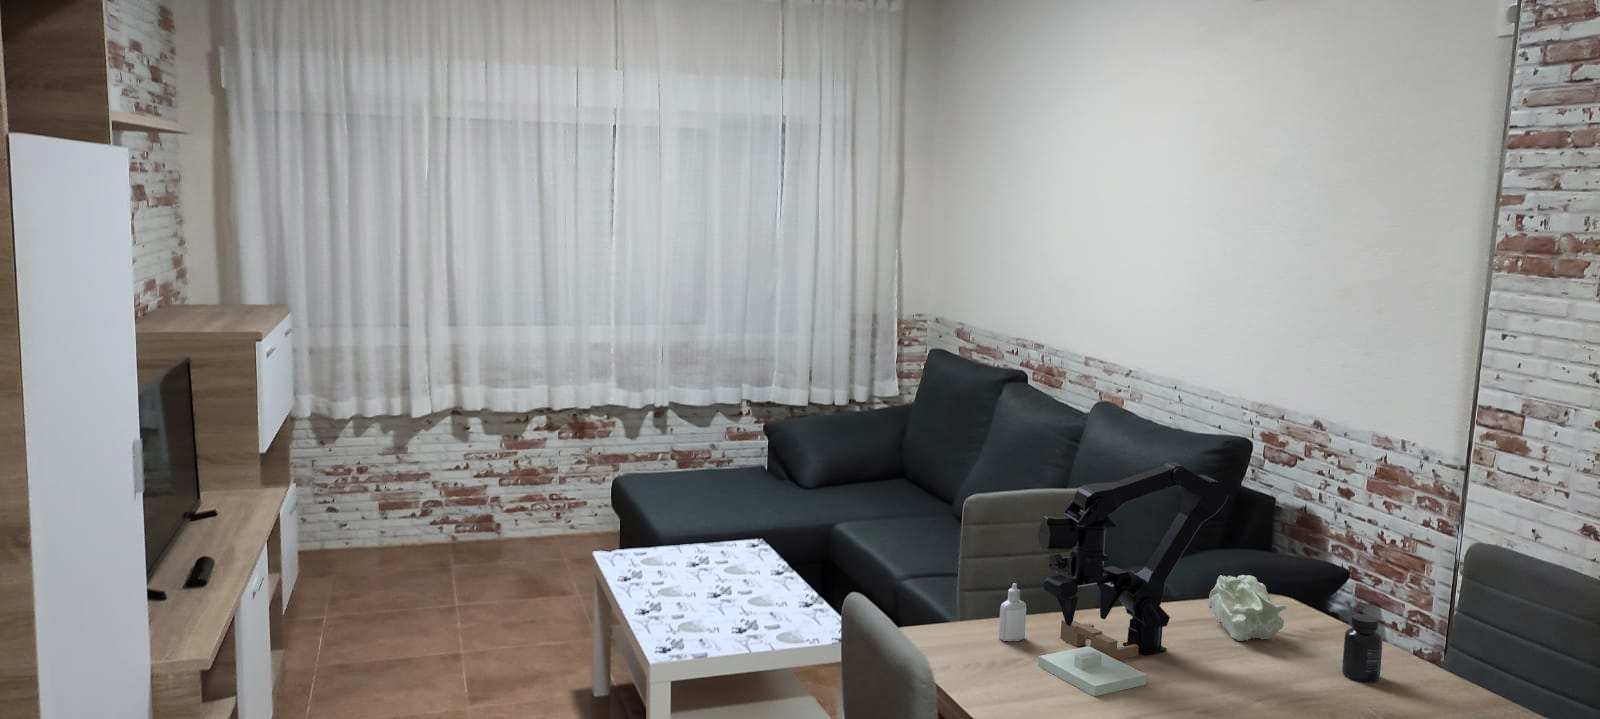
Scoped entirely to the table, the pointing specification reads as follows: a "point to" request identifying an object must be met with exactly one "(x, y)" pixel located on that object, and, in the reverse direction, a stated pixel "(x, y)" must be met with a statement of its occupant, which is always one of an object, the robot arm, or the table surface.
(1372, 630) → the supplement bottle
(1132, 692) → the table surface
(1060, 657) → the stand
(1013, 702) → the table surface
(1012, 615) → the eye dropper bottle
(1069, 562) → the robot arm
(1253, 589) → the folded clay sculpture
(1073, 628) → the brown c-shaped bracket
